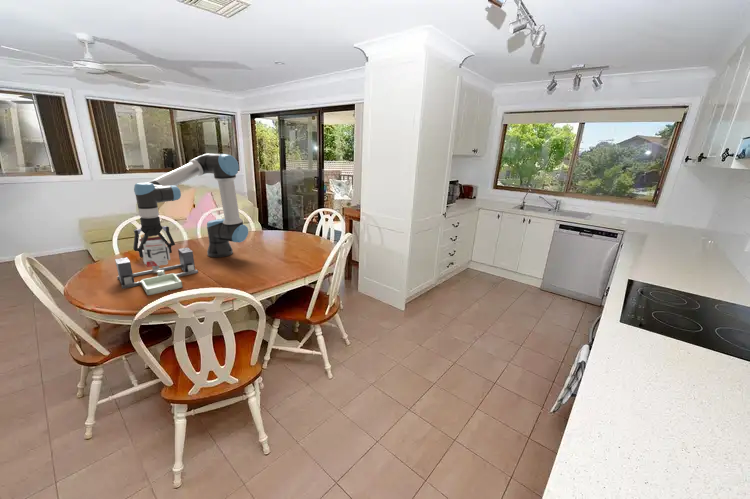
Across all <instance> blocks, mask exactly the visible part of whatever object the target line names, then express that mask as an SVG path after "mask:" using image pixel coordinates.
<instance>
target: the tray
mask: <svg viewBox="0 0 750 499" xmlns="http://www.w3.org/2000/svg"><path fill="white" fill-rule="evenodd" d="M175 274H176V273H174V272H173V273H167V274H166V273H165V275H162V276H158V275H157V276H152V277H147V278H141V279H140V282H141V284H142V285H141V286H142V287H141V288H143V290H144V291H145V293H146V295H147V296H152V295H153V296H154V295H156V294H161V293H164V292H165V291H166V292H169V291H168V290H170V291H173V290H177V289H182V288H183V281H182V280H181V279H180V277H177V276H176V275H175ZM166 292H165V293H166Z"/></svg>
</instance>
